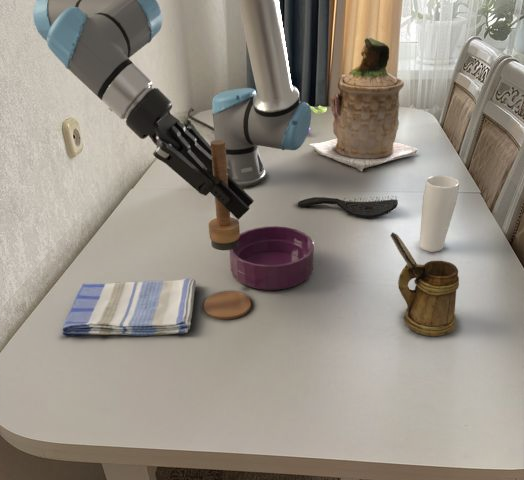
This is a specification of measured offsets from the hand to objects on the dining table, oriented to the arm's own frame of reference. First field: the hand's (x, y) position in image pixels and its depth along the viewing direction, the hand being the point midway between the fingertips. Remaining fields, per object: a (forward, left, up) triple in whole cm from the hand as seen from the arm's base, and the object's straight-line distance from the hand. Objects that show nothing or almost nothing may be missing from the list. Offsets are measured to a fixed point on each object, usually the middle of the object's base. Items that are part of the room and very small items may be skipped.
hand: (245, 209), depth 94 cm
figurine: (-91, +66, -20) cm, 114 cm away
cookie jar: (-56, +70, -20) cm, 92 cm away
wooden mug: (+21, +23, -20) cm, 37 cm away
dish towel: (-10, -20, -20) cm, 30 cm away
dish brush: (-3, -3, -7) cm, 8 cm away
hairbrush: (-25, +41, -20) cm, 52 cm away
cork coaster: (-2, -4, -19) cm, 20 cm away
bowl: (-9, +10, -20) cm, 24 cm away
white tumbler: (+1, +45, -20) cm, 49 cm away
